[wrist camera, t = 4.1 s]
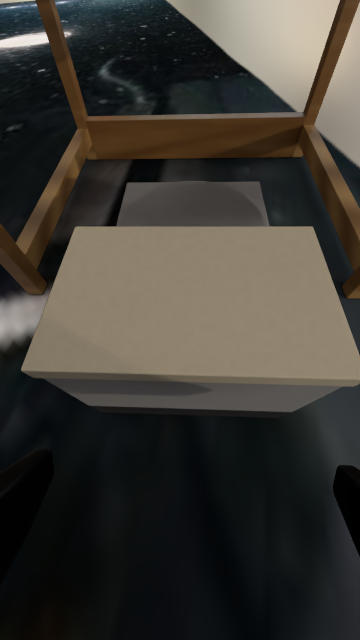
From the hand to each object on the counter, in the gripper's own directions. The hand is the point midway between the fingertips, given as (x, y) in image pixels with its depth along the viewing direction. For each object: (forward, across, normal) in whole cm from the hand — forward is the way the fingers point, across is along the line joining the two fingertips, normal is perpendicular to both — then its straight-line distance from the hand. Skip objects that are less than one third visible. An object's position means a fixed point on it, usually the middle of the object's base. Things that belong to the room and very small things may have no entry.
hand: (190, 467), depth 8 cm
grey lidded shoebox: (+12, 0, -3) cm, 13 cm away
